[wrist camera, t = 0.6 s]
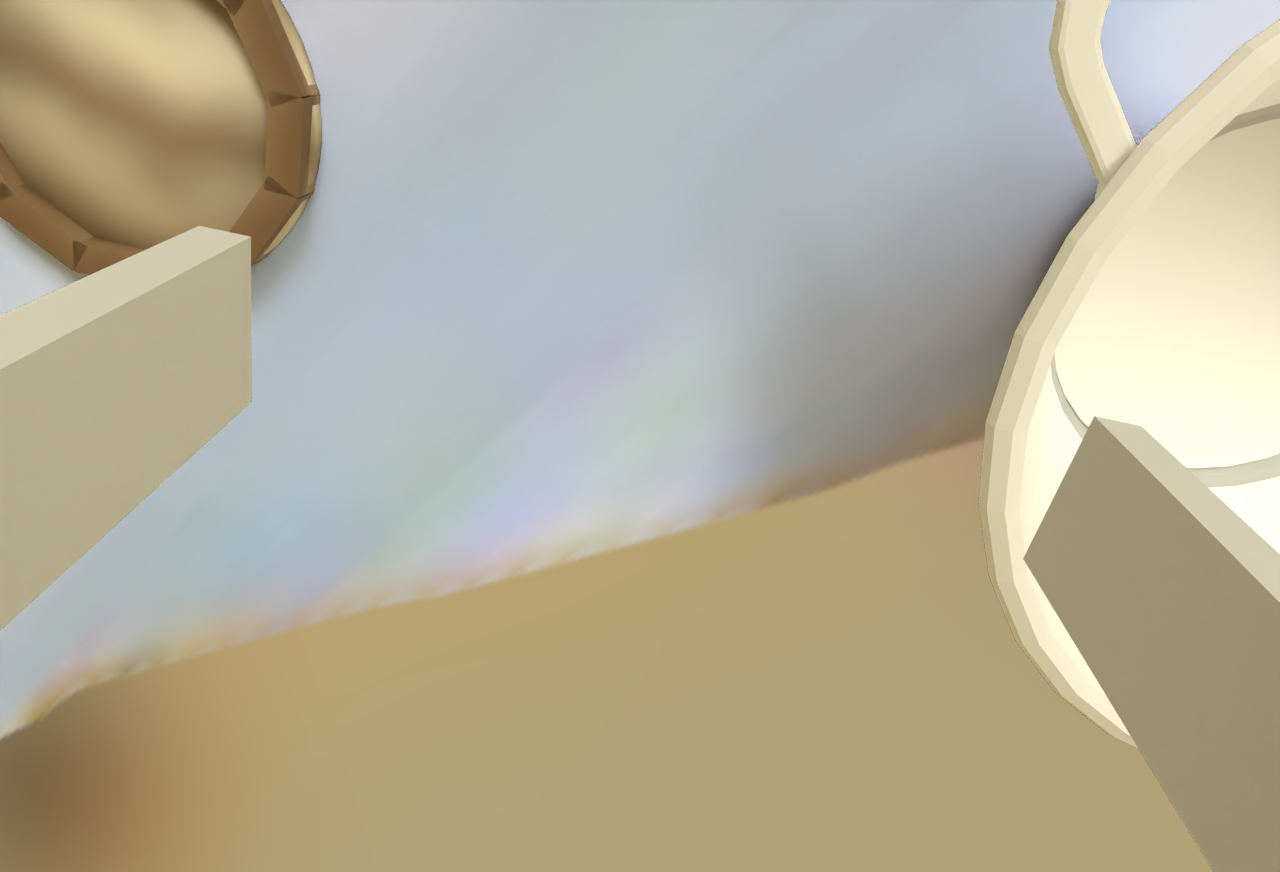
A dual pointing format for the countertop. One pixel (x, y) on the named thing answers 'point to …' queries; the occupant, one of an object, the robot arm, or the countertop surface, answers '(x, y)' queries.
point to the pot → (1145, 321)
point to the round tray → (153, 124)
